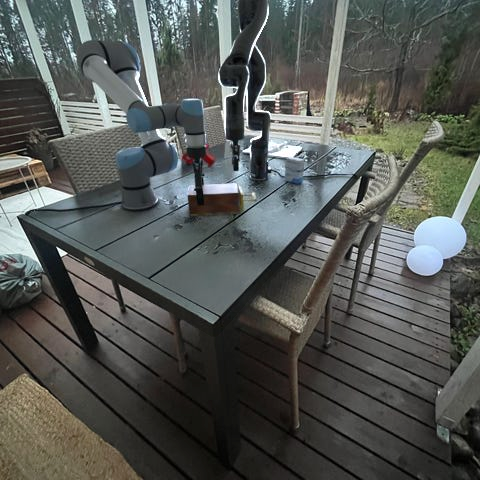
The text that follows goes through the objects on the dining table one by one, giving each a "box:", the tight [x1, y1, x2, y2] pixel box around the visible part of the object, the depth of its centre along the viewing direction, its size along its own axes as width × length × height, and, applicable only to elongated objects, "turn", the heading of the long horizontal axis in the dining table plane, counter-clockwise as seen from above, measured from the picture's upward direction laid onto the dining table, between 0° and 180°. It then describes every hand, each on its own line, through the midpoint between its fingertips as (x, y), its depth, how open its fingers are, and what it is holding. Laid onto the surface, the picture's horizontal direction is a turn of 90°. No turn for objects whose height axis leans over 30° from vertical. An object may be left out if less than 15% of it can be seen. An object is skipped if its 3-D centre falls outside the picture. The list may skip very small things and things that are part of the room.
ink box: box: [284, 156, 306, 185], centre depth 140 cm, size 8×5×12 cm, turn 47°
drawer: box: [237, 185, 258, 212], centre depth 114 cm, size 25×9×7 cm, turn 96°
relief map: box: [242, 138, 304, 160], centre depth 192 cm, size 27×35×5 cm
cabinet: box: [187, 182, 240, 217], centre depth 113 cm, size 20×10×9 cm, turn 96°
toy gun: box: [181, 141, 216, 167], centre depth 167 cm, size 18×4×15 cm
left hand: (201, 198), depth 113 cm, fingers open, 13 cm apart
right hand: (235, 167), depth 113 cm, fingers open, 8 cm apart
